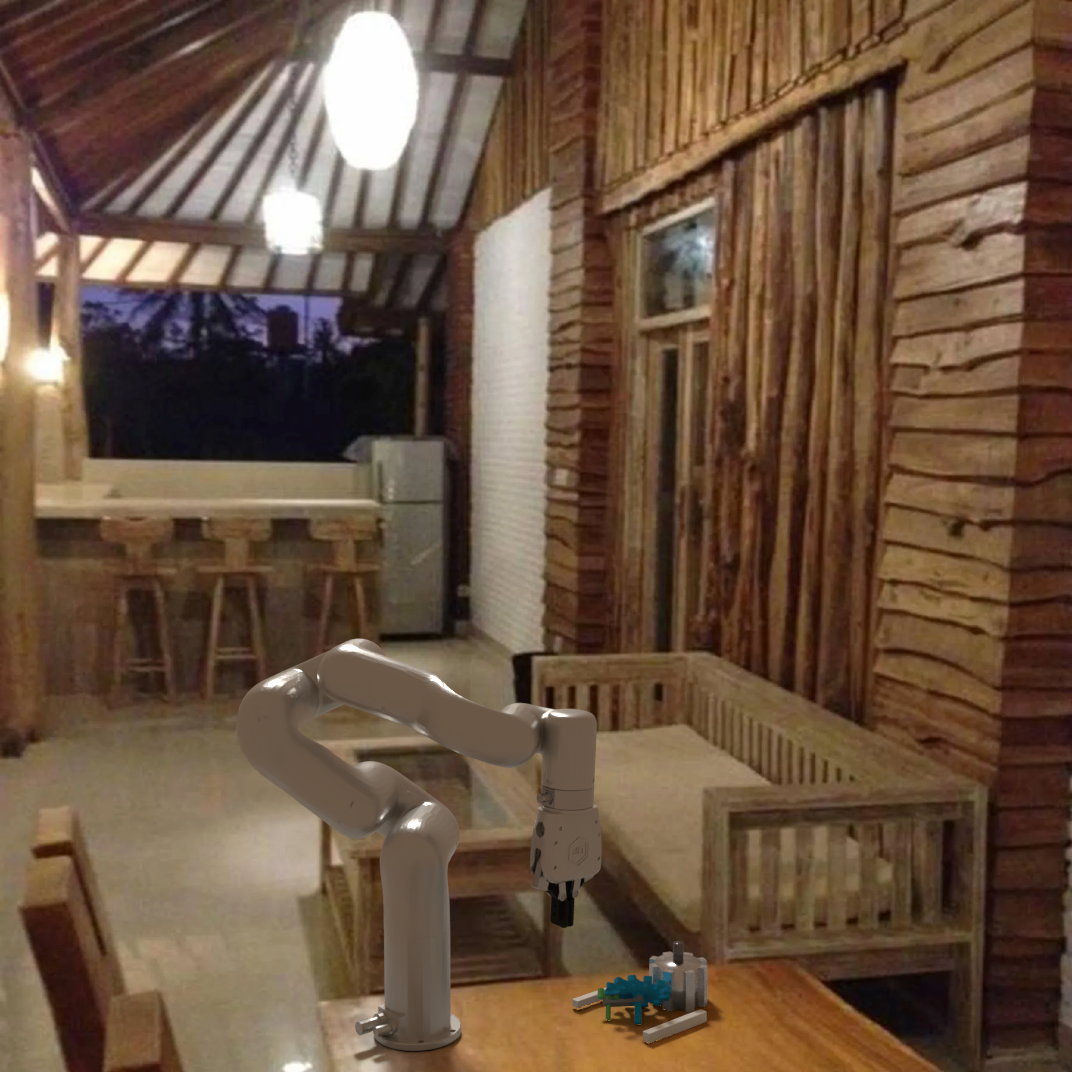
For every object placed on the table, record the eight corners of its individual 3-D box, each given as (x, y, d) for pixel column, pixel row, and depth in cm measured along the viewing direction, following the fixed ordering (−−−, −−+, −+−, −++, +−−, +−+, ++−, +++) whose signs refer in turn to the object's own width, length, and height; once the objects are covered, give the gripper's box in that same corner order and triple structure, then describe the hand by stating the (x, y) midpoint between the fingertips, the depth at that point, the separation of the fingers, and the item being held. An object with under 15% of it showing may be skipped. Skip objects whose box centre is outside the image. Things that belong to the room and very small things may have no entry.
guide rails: (648, 1044, 188) (648, 1033, 188) (572, 1008, 201) (572, 998, 201) (706, 1021, 196) (706, 1011, 196) (629, 988, 208) (629, 979, 208)
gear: (677, 997, 201) (664, 968, 194) (677, 1035, 197) (665, 1007, 190) (605, 1001, 203) (591, 972, 196) (604, 1039, 199) (589, 1011, 192)
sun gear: (678, 1017, 198) (679, 957, 197) (637, 999, 204) (637, 941, 204) (719, 1001, 203) (719, 944, 203) (677, 984, 210) (677, 928, 210)
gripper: (544, 810, 180) (538, 943, 181) (623, 796, 190) (618, 922, 191) (509, 798, 186) (504, 926, 187) (588, 785, 195) (583, 907, 196)
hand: (561, 924), depth 189 cm, fingers closed
